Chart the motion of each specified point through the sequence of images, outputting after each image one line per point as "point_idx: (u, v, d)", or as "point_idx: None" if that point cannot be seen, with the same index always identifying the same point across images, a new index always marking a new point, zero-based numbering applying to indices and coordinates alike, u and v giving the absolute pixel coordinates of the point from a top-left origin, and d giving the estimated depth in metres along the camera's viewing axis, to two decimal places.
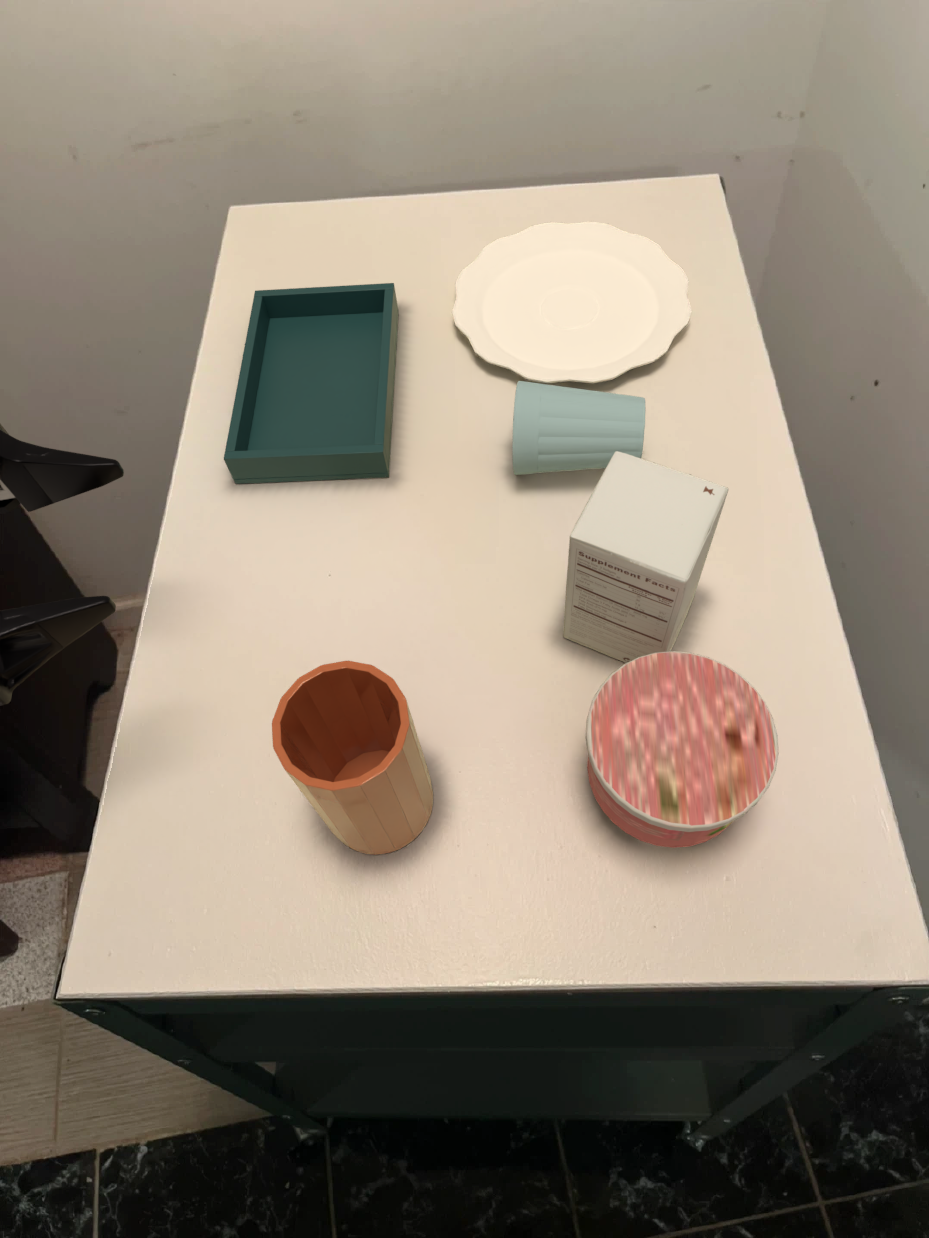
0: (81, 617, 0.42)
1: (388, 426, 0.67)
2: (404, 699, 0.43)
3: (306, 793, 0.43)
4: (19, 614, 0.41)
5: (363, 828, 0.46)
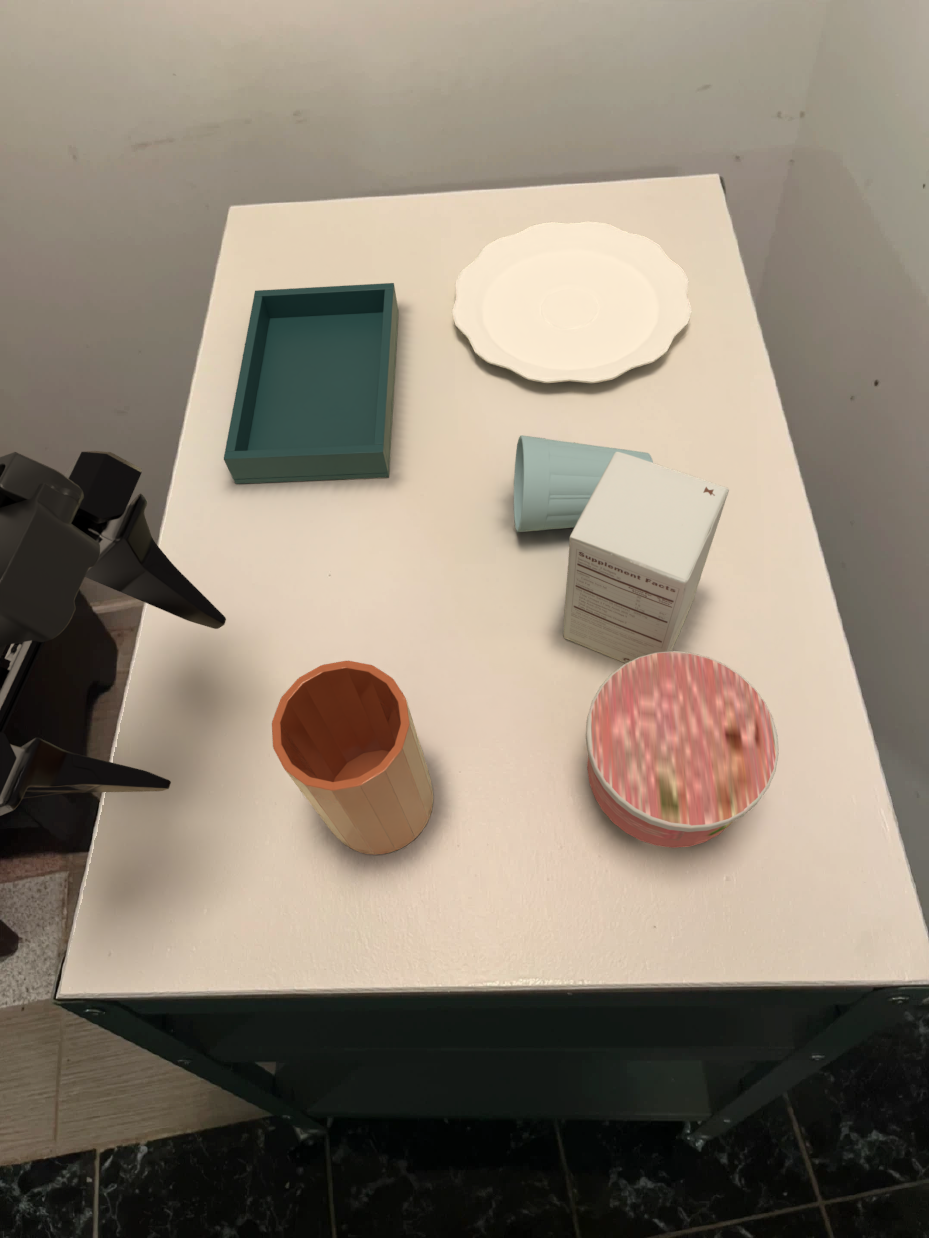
0: (134, 788, 0.39)
1: (388, 426, 0.67)
2: (404, 699, 0.43)
3: (306, 793, 0.43)
4: (90, 767, 0.37)
5: (363, 828, 0.46)
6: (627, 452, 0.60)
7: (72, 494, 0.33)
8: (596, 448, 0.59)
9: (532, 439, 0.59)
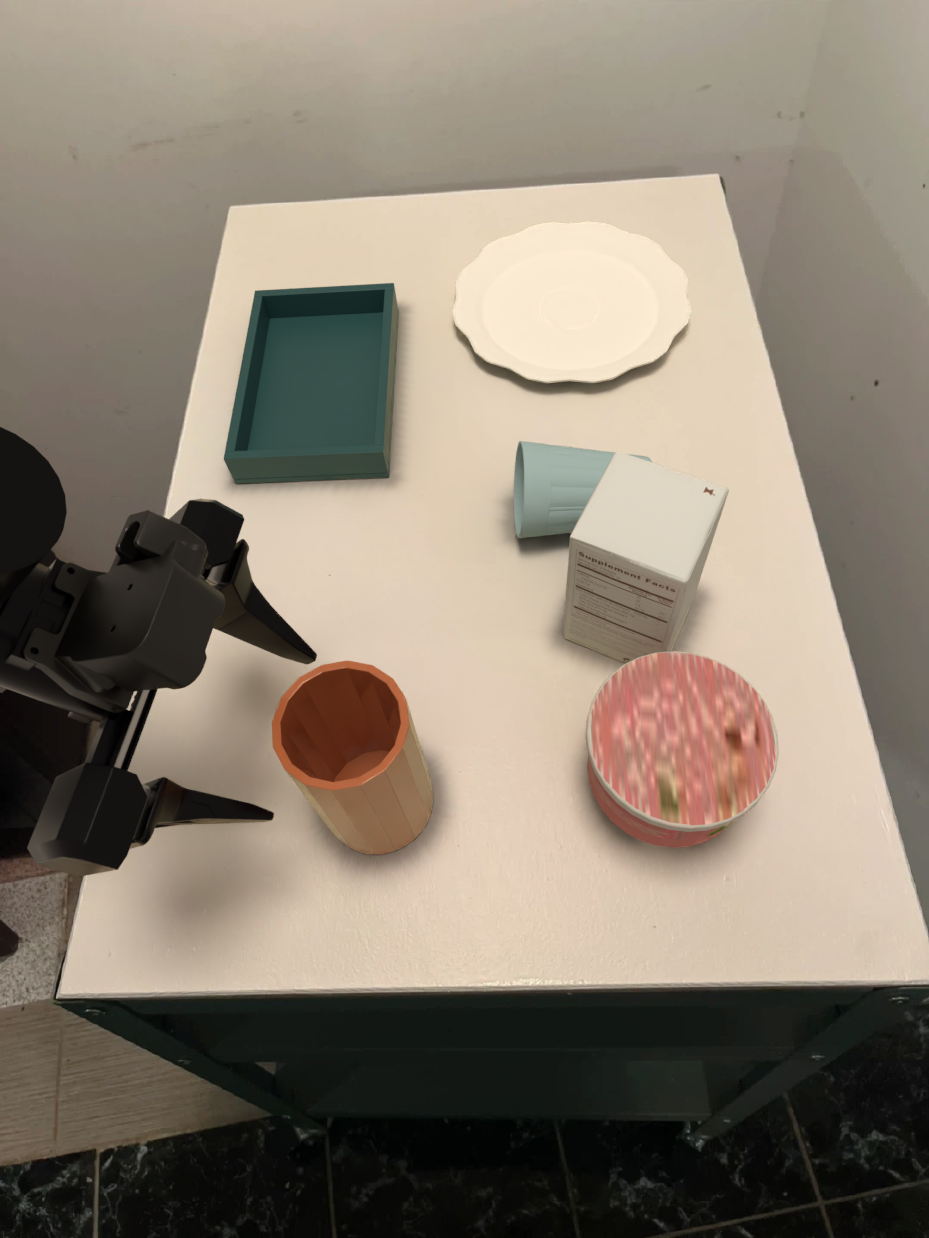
0: (241, 820, 0.42)
1: (388, 426, 0.67)
2: (404, 699, 0.43)
3: (306, 793, 0.43)
4: (205, 802, 0.39)
5: (363, 828, 0.46)
6: None
7: (201, 549, 0.36)
8: (597, 456, 0.59)
9: (532, 448, 0.58)
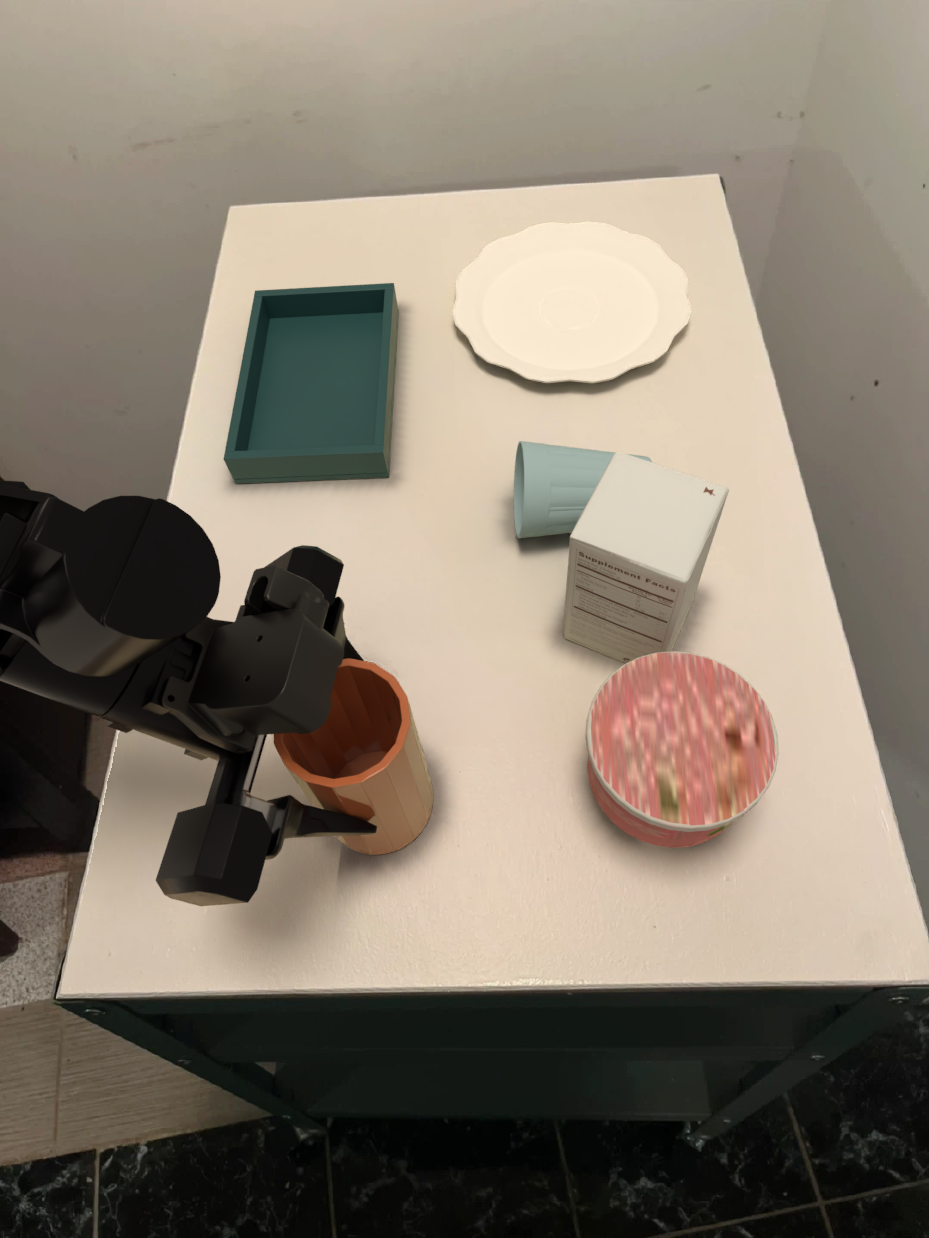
0: (349, 834, 0.44)
1: (388, 426, 0.67)
2: (405, 697, 0.43)
3: (306, 790, 0.43)
4: (320, 817, 0.42)
5: None
6: None
7: (324, 602, 0.38)
8: (597, 456, 0.59)
9: (532, 448, 0.58)
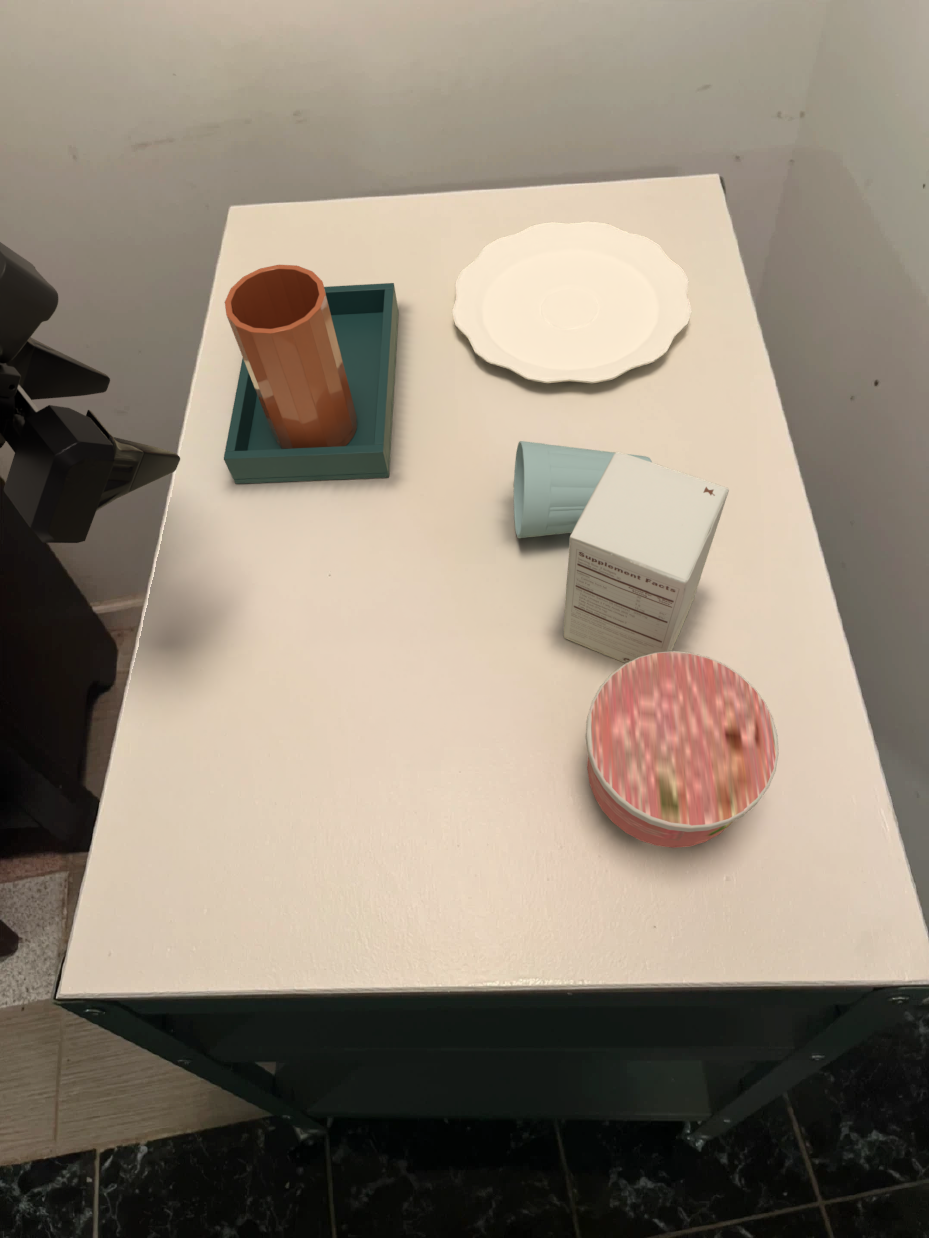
0: (161, 464, 0.49)
1: (388, 426, 0.67)
2: (296, 266, 0.59)
3: (289, 362, 0.58)
4: (127, 443, 0.47)
5: (332, 391, 0.63)
6: None
7: None
8: (597, 456, 0.59)
9: (532, 448, 0.58)
